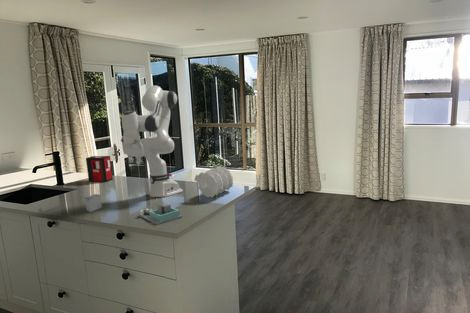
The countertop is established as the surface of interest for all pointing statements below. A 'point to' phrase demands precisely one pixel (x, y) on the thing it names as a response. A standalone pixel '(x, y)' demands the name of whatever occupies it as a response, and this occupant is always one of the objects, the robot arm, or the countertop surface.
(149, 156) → the robot arm
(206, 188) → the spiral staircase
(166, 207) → the block
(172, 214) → the end holder
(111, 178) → the cleaning product box
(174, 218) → the board
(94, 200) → the medicine box
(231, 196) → the countertop surface
